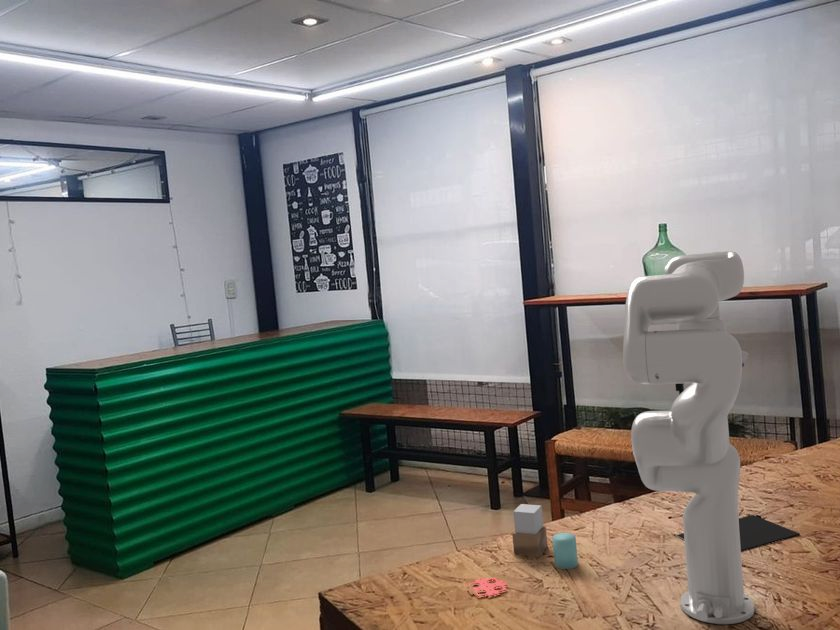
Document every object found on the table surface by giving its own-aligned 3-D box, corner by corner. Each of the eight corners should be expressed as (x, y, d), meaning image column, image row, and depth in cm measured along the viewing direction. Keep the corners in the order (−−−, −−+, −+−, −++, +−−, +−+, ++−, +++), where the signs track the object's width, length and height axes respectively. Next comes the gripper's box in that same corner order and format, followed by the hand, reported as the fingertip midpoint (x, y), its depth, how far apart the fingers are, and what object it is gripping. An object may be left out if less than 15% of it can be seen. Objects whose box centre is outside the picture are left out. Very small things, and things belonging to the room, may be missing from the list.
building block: (475, 598, 145) (512, 590, 147) (462, 583, 152) (497, 574, 155) (476, 602, 145) (512, 594, 147) (462, 586, 153) (497, 578, 155)
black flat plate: (801, 537, 161) (750, 517, 175) (801, 531, 161) (749, 511, 175) (719, 561, 154) (672, 537, 168) (718, 555, 153) (672, 532, 168)
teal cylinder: (574, 570, 155) (571, 543, 154) (551, 567, 157) (549, 540, 157) (580, 560, 159) (578, 534, 158) (558, 558, 161) (556, 532, 161)
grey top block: (535, 534, 163) (533, 513, 163) (515, 532, 166) (513, 511, 165) (543, 526, 168) (541, 505, 167) (523, 524, 170) (521, 503, 170)
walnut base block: (538, 557, 163) (537, 535, 163) (514, 554, 166) (512, 533, 166) (547, 546, 168) (545, 525, 168) (523, 544, 171) (521, 523, 171)
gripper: (654, 317, 151) (661, 398, 152) (745, 312, 143) (751, 397, 145) (658, 314, 157) (664, 391, 159) (745, 308, 150) (751, 389, 151)
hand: (705, 394), depth 152 cm, fingers open, 9 cm apart
